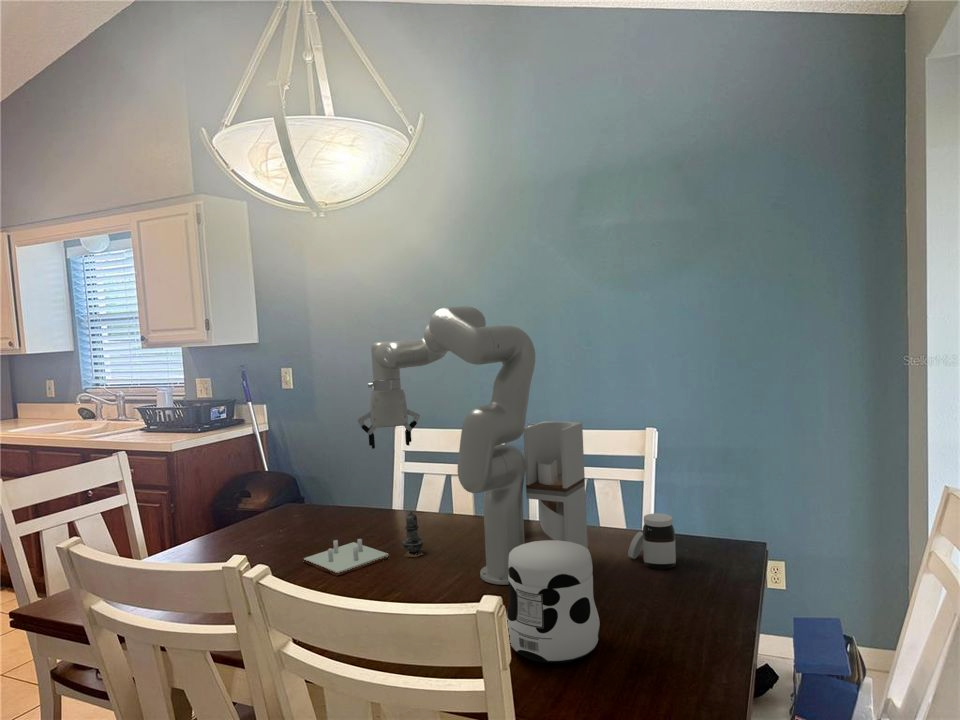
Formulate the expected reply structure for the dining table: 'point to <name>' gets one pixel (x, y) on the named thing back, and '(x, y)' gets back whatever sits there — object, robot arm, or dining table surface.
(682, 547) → the dining table surface
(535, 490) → the open shelf unit
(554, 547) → the milk container
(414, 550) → the salt shaker
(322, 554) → the pin tray
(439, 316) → the robot arm
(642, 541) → the spread jar
